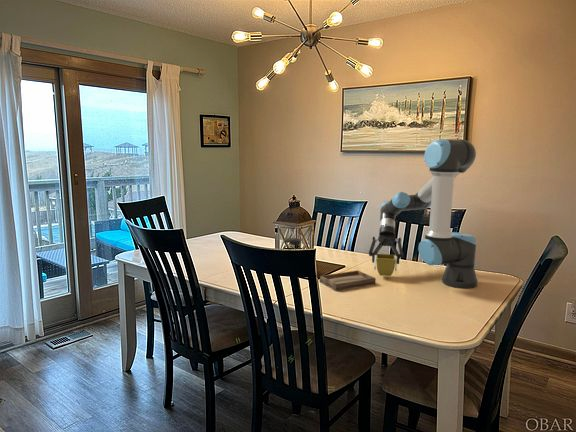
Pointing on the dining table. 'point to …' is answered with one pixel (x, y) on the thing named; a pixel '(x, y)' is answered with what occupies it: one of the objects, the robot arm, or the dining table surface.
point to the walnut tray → (347, 280)
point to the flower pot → (385, 264)
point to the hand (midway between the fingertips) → (385, 268)
